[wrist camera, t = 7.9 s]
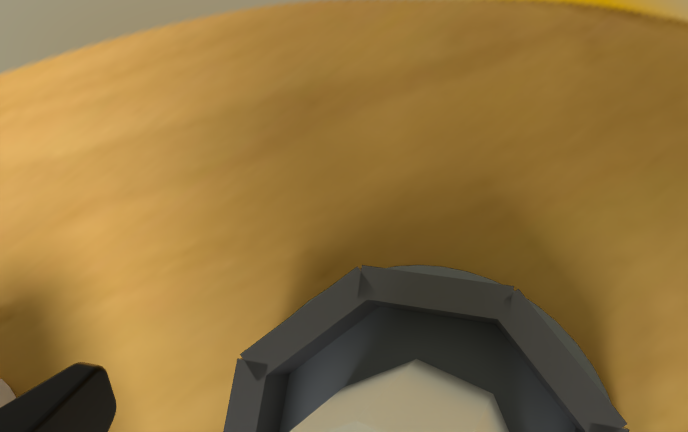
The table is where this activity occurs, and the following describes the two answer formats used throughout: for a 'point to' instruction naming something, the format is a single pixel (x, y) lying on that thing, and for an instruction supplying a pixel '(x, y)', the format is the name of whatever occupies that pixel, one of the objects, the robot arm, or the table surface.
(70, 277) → the table surface
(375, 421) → the pepper shaker
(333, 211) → the table surface
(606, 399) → the grey octagonal tray
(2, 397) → the charger
